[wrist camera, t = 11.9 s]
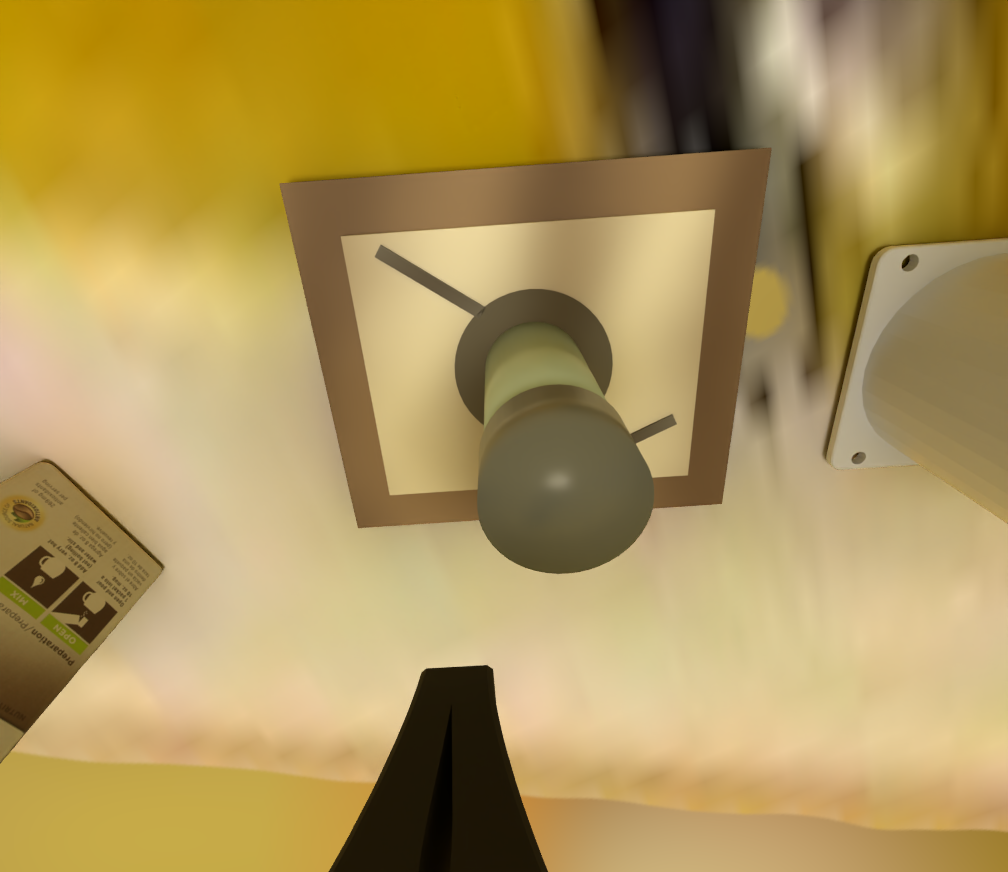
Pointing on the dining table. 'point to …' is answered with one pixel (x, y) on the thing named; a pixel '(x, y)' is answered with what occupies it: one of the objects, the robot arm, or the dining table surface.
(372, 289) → the brown picture frame
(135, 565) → the coffee box
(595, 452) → the marker
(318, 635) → the dining table surface
